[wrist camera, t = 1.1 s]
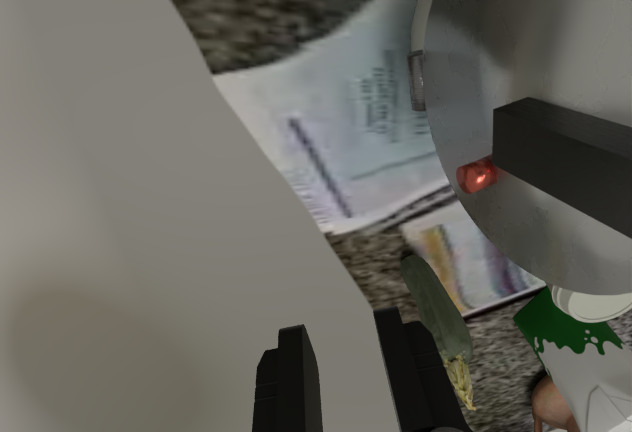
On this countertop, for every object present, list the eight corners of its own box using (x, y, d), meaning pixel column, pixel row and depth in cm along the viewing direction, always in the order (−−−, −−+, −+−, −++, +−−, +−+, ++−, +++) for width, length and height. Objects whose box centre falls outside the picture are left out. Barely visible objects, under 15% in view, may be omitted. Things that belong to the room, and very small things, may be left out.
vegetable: (398, 239, 49) (454, 386, 32) (432, 239, 49) (506, 385, 33) (393, 268, 52) (443, 418, 35) (426, 267, 52) (492, 416, 35)
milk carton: (503, 320, 58) (590, 468, 41) (549, 276, 54) (667, 421, 37) (546, 337, 61) (645, 483, 44) (593, 297, 56) (722, 440, 40)
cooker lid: (415, -75, 26) (365, -61, 25) (1469, -346, 5) (1308, -302, 4) (433, 181, 36) (398, 195, 35) (801, 447, 15) (728, 488, 15)
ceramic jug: (613, 335, 61) (689, 426, 49) (629, 383, 68) (700, 474, 56) (498, 377, 66) (542, 470, 54) (525, 418, 73) (569, 509, 61)
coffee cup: (584, 234, 50) (658, 304, 40) (518, 264, 52) (572, 338, 42) (569, 184, 46) (648, 247, 36) (498, 218, 48) (553, 287, 38)
